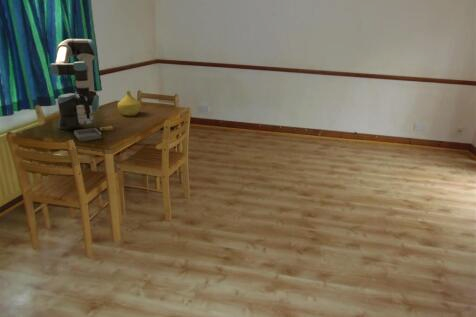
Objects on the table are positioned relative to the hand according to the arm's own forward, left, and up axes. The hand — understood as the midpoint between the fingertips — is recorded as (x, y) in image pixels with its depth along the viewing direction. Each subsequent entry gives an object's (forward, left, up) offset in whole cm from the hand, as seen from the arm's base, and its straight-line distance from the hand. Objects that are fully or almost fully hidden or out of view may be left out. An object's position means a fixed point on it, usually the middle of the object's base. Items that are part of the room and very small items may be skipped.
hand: (86, 121), depth 240 cm
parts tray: (0, 0, -10) cm, 10 cm away
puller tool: (-11, +15, -10) cm, 21 cm away
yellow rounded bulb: (-45, +44, -11) cm, 64 cm away
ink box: (0, 0, -1) cm, 1 cm away
